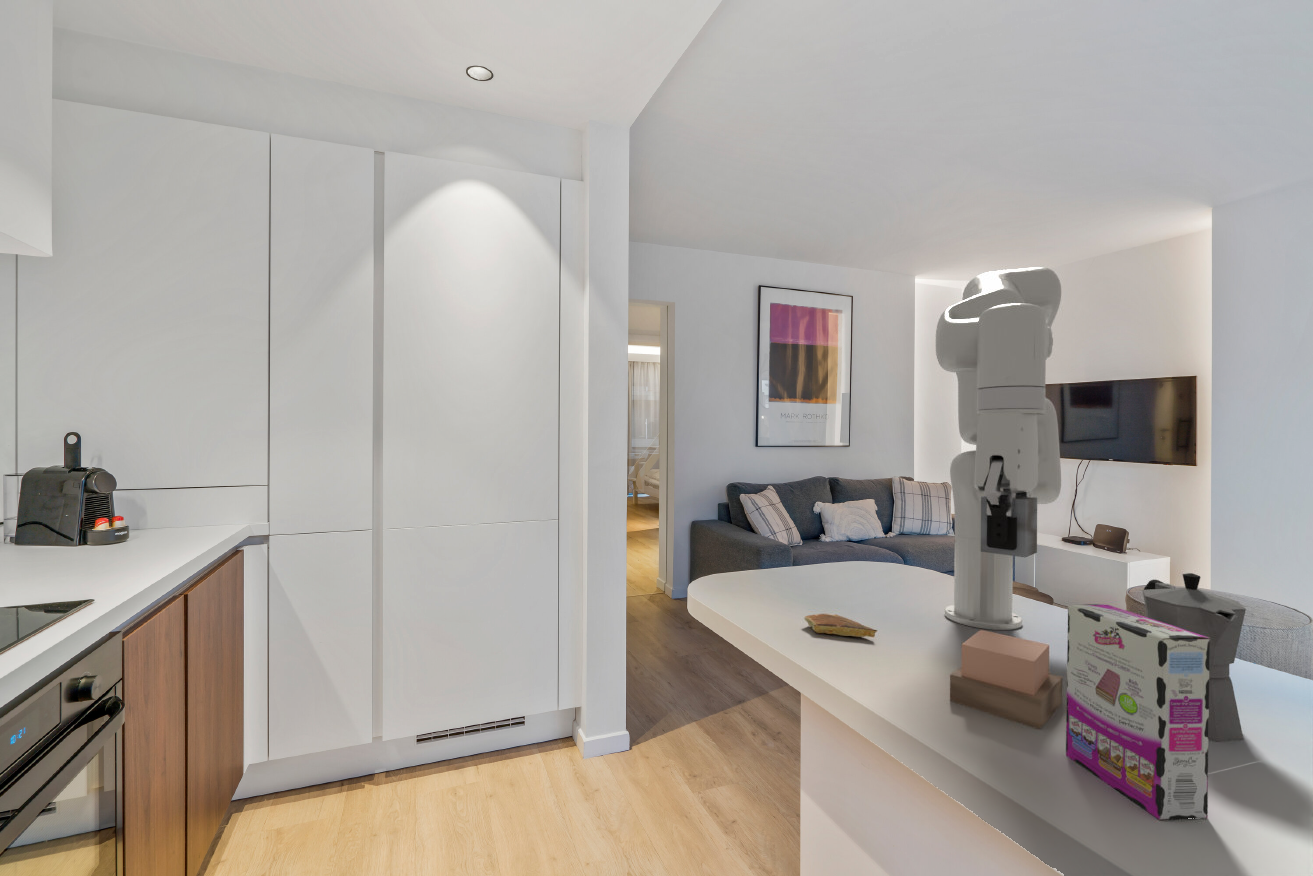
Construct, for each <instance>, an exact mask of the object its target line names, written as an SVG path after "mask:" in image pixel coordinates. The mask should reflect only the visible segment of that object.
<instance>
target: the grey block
mask: <svg viewBox="0 0 1313 876" xmlns="http://www.w3.org/2000/svg"><path fill="white" fill-rule="evenodd" d="M986 499H987V497H986V496H983V497H981V552H987V553H995V554H1002V555H1010V556H1013V557H1017V558H1018V557H1019V558H1027V557H1030V556H1033V555H1035V554H1036V553H1038V552H1037V551H1038V504H1037V498H1034V497H1019V496H1016V498H1015V508H1014V516H1013V517H1016V518H1017V548H1016V549H1015V550H1006V549H998V548H990V547H988V546H987V501H986ZM1005 499H1006V503H1007V500H1008V497H1005Z"/></svg>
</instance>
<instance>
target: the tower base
mask: <svg viewBox="0 0 1313 876" xmlns="http://www.w3.org/2000/svg"><path fill="white" fill-rule="evenodd" d="M949 675H950V676H949V677H950V678H949V701H950V702H952V703H955V704H957V705H961V706H965V707H967V708H971V709H974V710H977V711H981V712H983V713H986V714H990V715H993V716H995V717H996V716H997V717H998V718H999V717H1000V718H1002V719H1006V720H1009V721H1012V722H1015V723H1018V724H1022V725H1023V726H1024V725H1025V726H1027V727H1031V728H1034V729H1037V730H1041V729H1043V727H1044V725H1046V724H1047V722H1048V721H1049V720H1050V719H1051V718H1052V717H1053V715H1054V713H1055V712H1056V711H1057V710H1058V709H1059V707H1060V706H1061V705H1062V704H1063V682H1064V681H1063V680H1064V679H1063V676H1061V675H1058V674H1057V675H1056V674H1054V673H1050V672H1049V676H1048V678H1047V679H1046V680H1045V682H1044V683H1043V684H1042V685H1041V687H1040V688H1039V689H1038V691H1037V692H1036V693H1035V694H1034V695H1031V694H1028V693H1024V692H1020V691H1017V690H1013V689H1009V688H1006V687H1002V686H998V685H995V684H991V683H987V682H984V681H980V680H976V679H973V678H969V677H965V676H962V675H961V666H960V667H959V668H957V669H956V670H954V671H953V672H952V673H950V674H949Z"/></svg>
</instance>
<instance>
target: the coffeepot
mask: <svg viewBox="0 0 1313 876" xmlns="http://www.w3.org/2000/svg"><path fill="white" fill-rule="evenodd" d="M1182 578H1183V583H1184V587H1176V586H1175V585H1173V584H1170V583H1166V582H1163V581H1160V580H1158V579H1150V580H1148V582H1147V583H1146V585H1145V586H1144V588H1143V589H1142V590H1141V591H1142V593H1143V594H1142V595H1143V596H1142V597H1143V601H1144V608H1145V612H1146V617H1147V618H1150V619H1153V620H1157V621H1160V622H1163V623H1166V624H1169V625H1172V626H1175V627H1178V628H1181V629H1184V630H1187V631H1190V632H1193V633H1196V634H1199V635H1202V636H1205V637H1209V638H1210V655H1209V718H1208V741H1212V742H1218V743H1219V742H1221V743H1222V742H1230V741H1238V740H1243V739H1244V735H1243V734H1244V733H1243V730H1242V726H1241V720H1240V715H1239V710H1238V705H1237V701H1236V696H1235V690H1234V685H1233V682H1232V679H1231V676H1230V665H1231V664H1235V660H1236V656H1237V655H1236V654H1237V651H1238V650H1237V649H1238V646H1239V643H1240V638H1241V637H1240V636H1241V633H1242V629H1243V623H1244V620H1245V614H1246V611H1247V609H1246V608H1245V607H1244V606H1243V604H1242V603H1240V601H1238V600H1235V599H1230V598H1227V597H1223V596H1221V595H1218V594H1214V593H1212V592H1207V591H1205V590H1201V589H1198V588H1199V584H1200V581H1201V576H1200V575H1198V574H1195V573H1191V572H1190V573H1188V572H1187V573H1182ZM1237 739H1238V740H1237Z"/></svg>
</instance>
